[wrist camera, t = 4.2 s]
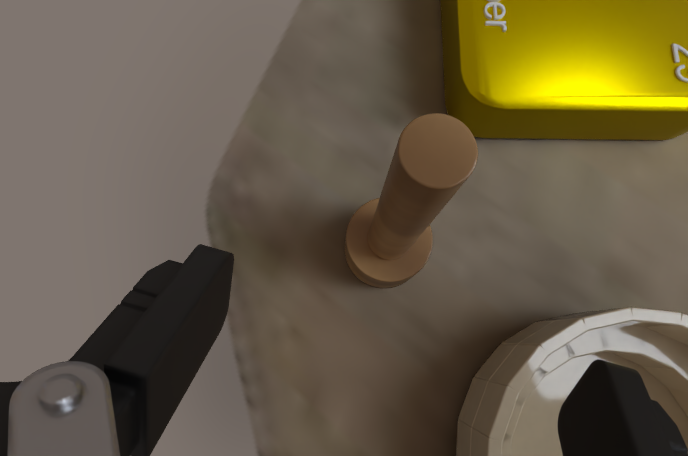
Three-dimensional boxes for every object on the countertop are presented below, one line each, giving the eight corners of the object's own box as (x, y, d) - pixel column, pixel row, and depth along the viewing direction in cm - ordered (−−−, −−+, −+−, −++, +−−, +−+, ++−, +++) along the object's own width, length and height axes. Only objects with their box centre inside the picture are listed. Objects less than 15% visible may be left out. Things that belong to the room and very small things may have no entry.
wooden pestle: (379, 196, 29) (427, 46, 14) (438, 246, 28) (551, 144, 14) (328, 251, 28) (323, 154, 13) (387, 304, 28) (449, 262, 13)
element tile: (435, -73, 33) (452, -141, 28) (660, -69, 33) (713, -136, 29) (445, 140, 30) (466, 102, 25) (694, 142, 30) (760, 106, 25)
